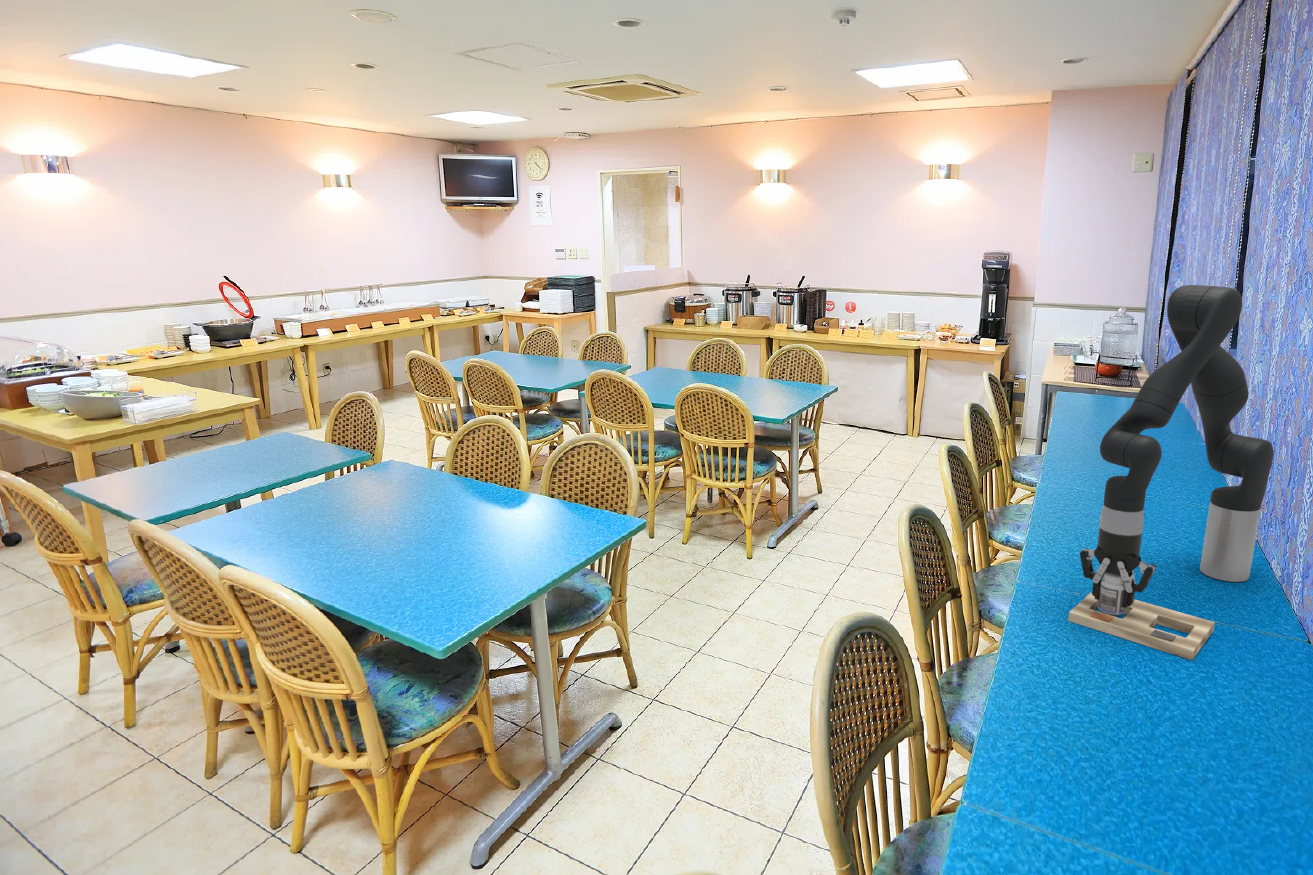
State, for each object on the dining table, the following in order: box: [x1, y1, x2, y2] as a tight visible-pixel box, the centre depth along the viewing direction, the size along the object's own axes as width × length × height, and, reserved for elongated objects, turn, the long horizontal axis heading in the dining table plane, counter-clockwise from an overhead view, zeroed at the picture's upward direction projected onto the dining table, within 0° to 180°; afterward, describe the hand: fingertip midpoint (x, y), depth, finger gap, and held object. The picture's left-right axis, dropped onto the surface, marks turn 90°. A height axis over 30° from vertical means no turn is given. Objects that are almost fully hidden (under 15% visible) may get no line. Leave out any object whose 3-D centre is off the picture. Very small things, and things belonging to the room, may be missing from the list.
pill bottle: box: [1097, 572, 1126, 616], centre depth 156 cm, size 5×5×8 cm
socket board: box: [1067, 591, 1216, 661], centre depth 153 cm, size 15×22×2 cm
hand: (1111, 601), depth 157 cm, fingers closed on pill bottle, 4 cm apart
